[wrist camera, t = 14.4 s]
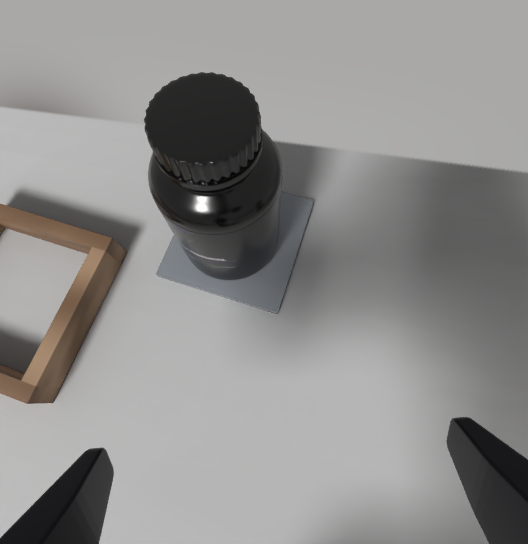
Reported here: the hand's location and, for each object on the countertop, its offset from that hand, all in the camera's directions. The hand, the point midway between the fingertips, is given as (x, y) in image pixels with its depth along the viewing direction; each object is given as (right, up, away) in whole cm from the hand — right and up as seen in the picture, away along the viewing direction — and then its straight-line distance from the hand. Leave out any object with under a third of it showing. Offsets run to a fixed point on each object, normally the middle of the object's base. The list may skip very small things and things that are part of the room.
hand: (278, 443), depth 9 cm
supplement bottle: (-3, +7, +17) cm, 18 cm away
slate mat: (-2, +7, +17) cm, 18 cm away
